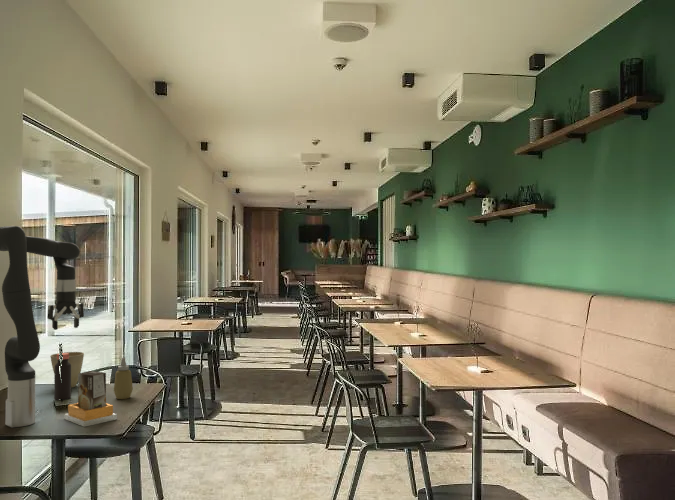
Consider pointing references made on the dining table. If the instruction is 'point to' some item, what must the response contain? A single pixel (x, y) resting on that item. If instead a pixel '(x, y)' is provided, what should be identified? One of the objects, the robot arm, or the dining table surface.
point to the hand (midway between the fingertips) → (65, 328)
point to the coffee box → (91, 390)
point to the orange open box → (90, 415)
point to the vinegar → (62, 388)
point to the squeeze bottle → (123, 381)
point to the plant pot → (75, 362)
